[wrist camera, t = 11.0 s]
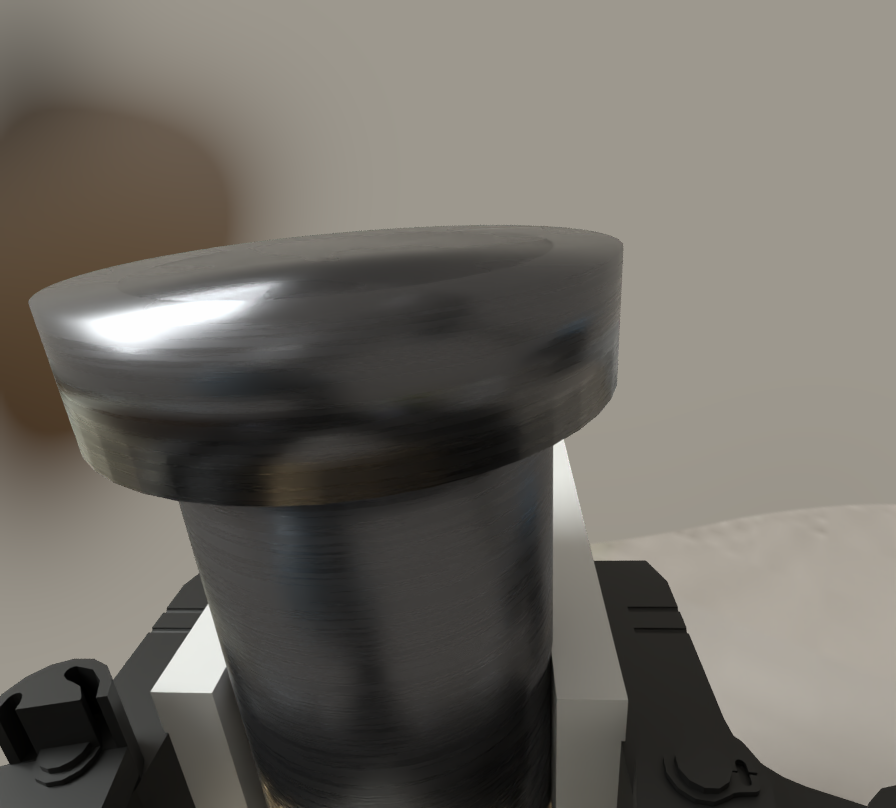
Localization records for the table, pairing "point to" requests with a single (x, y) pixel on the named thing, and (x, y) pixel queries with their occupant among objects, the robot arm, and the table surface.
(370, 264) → the black pin
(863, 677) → the table surface
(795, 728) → the table surface
